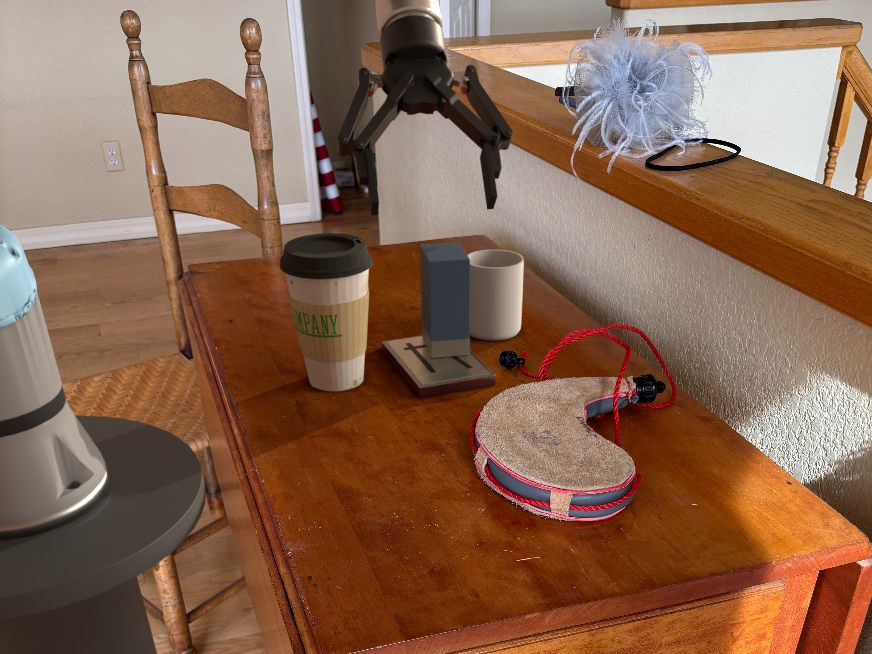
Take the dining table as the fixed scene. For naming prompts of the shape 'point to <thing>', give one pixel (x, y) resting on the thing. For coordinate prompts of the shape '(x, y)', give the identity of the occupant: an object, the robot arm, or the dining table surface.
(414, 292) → the dining table surface
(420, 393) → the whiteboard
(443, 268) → the eraser
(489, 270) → the cup
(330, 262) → the coffee cup
